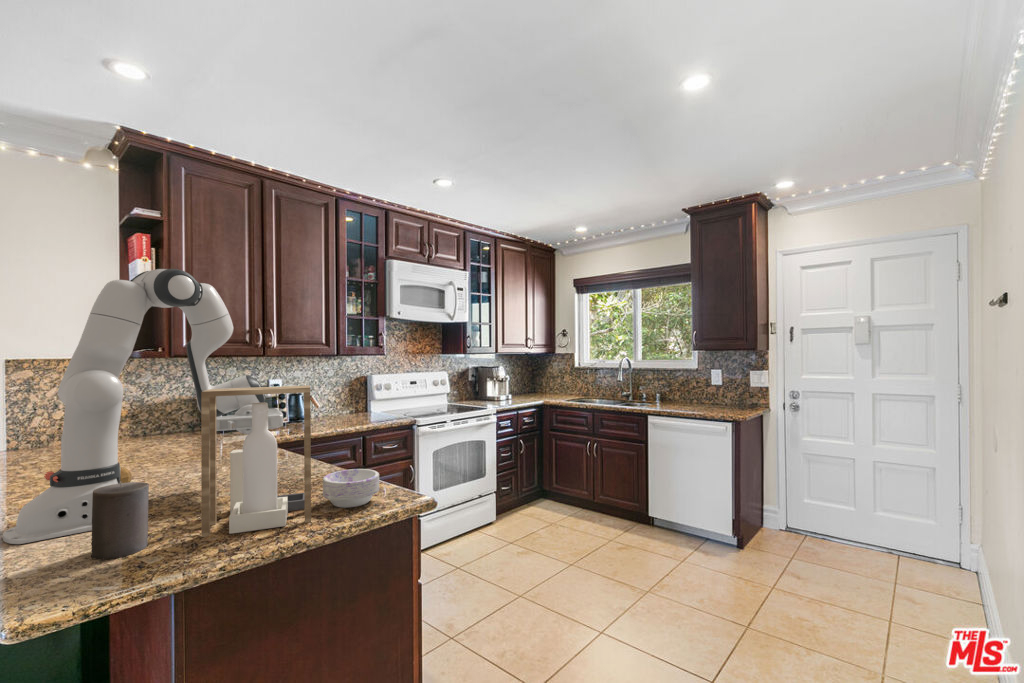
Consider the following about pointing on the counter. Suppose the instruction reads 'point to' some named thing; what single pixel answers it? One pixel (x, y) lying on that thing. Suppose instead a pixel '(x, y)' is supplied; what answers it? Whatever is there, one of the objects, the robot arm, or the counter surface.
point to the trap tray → (295, 501)
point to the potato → (125, 475)
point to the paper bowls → (350, 487)
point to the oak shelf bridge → (210, 447)
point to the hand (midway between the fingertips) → (243, 425)
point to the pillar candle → (119, 520)
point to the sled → (236, 518)
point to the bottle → (259, 464)
